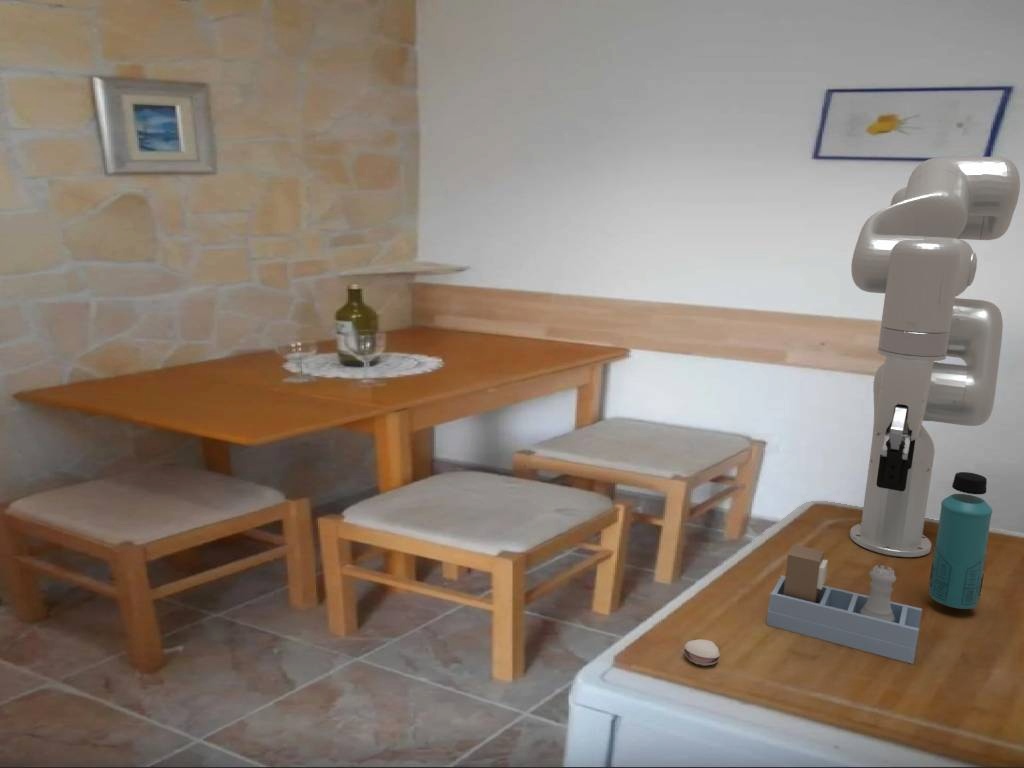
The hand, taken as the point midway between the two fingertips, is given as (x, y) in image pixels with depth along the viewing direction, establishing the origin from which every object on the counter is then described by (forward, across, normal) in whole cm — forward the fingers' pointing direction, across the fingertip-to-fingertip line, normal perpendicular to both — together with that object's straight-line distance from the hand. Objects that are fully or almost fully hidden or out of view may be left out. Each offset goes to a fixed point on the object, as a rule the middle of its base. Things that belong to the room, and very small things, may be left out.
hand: (894, 477), depth 103 cm
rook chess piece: (+20, 0, 0) cm, 21 cm away
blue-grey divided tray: (+22, +1, -4) cm, 23 cm away
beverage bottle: (+23, -15, +9) cm, 29 cm away
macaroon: (+23, +17, -18) cm, 33 cm away
